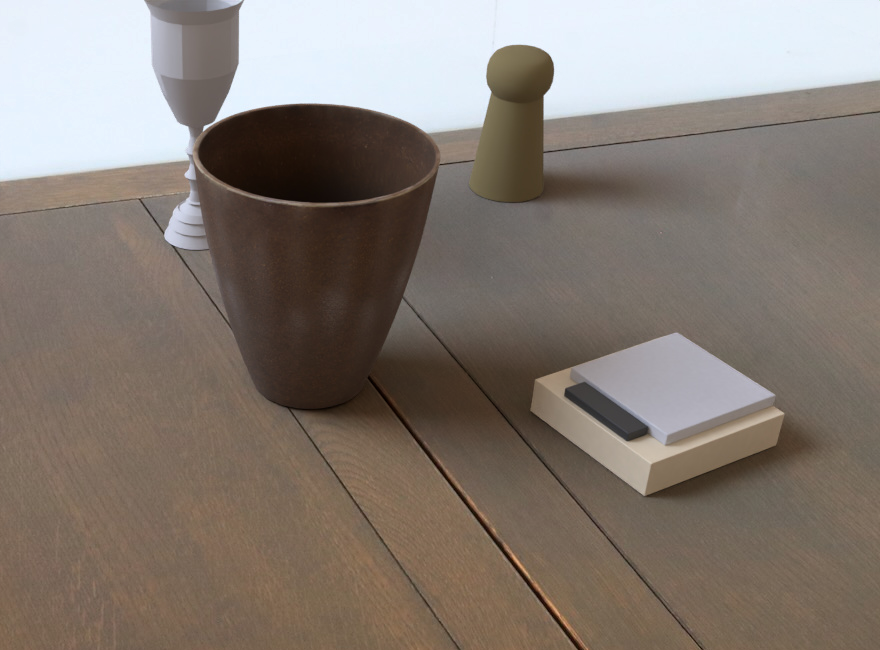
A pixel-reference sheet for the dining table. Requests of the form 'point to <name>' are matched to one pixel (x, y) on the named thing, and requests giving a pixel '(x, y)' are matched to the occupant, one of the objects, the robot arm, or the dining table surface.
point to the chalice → (193, 84)
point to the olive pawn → (513, 125)
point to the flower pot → (313, 239)
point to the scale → (659, 412)
